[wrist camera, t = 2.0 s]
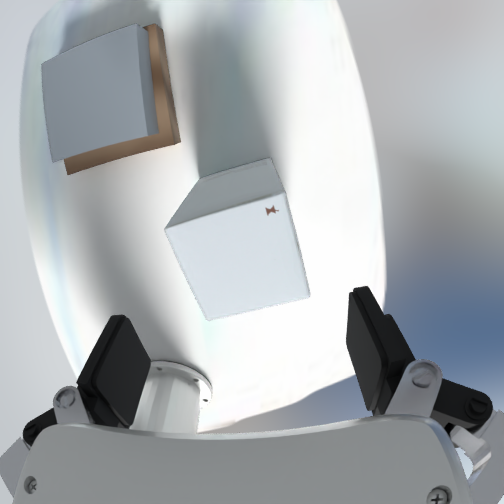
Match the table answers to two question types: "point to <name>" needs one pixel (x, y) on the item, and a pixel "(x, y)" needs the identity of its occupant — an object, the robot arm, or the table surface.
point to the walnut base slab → (163, 110)
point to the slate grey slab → (99, 93)
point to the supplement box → (239, 242)
